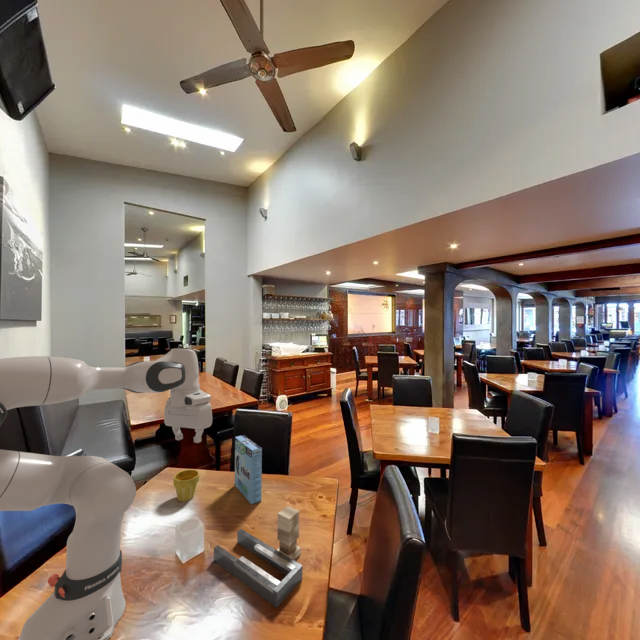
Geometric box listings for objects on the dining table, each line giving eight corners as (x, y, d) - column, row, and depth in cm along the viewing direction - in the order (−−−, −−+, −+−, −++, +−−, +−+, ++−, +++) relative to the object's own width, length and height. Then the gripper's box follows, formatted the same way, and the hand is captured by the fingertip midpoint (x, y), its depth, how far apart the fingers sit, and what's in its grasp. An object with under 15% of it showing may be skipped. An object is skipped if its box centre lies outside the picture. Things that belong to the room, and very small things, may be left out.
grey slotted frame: (276, 607, 78) (277, 592, 78) (213, 560, 94) (213, 547, 94) (302, 579, 87) (302, 565, 87) (240, 540, 103) (240, 528, 103)
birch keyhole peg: (288, 565, 92) (289, 520, 93) (274, 557, 96) (275, 513, 96) (300, 553, 97) (301, 510, 98) (287, 545, 101) (287, 504, 101)
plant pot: (203, 495, 130) (204, 473, 130) (181, 507, 121) (182, 483, 121) (190, 488, 136) (190, 466, 136) (168, 498, 127) (168, 476, 127)
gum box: (261, 501, 126) (262, 447, 127) (250, 505, 123) (251, 450, 124) (243, 482, 142) (244, 434, 142) (233, 485, 139) (234, 436, 139)
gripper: (157, 399, 98) (159, 441, 97) (197, 400, 87) (200, 447, 86) (175, 395, 103) (177, 435, 102) (214, 395, 93) (217, 440, 92)
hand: (188, 440), depth 94 cm, fingers open, 8 cm apart
